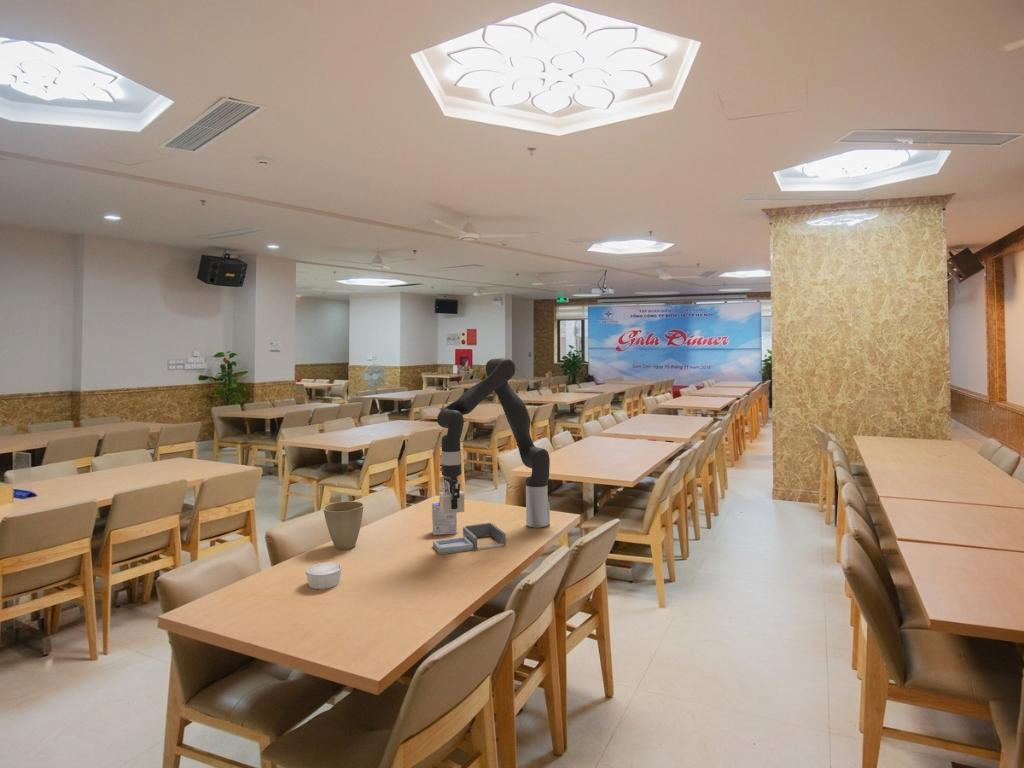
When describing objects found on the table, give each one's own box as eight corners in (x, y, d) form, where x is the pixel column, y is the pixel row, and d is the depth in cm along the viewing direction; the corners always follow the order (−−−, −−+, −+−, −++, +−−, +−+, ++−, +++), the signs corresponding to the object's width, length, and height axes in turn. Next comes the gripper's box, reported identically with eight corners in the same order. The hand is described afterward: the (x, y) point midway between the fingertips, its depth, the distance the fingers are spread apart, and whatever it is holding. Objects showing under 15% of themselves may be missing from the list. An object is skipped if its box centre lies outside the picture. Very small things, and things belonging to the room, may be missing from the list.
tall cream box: (460, 508, 226) (460, 490, 226) (464, 511, 221) (464, 493, 221) (440, 510, 223) (439, 492, 223) (443, 514, 218) (443, 495, 218)
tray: (465, 541, 230) (465, 536, 230) (473, 549, 221) (473, 544, 221) (433, 546, 225) (432, 540, 225) (439, 554, 216) (439, 548, 216)
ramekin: (338, 590, 185) (337, 573, 185) (302, 592, 185) (301, 575, 184) (345, 576, 197) (345, 561, 196) (311, 578, 196) (310, 562, 196)
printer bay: (492, 534, 239) (492, 522, 239) (506, 545, 225) (506, 532, 225) (463, 538, 235) (462, 526, 234) (475, 550, 220) (474, 537, 220)
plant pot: (340, 539, 236) (339, 499, 235) (372, 542, 231) (371, 502, 230) (316, 551, 222) (314, 509, 221) (349, 555, 217) (348, 512, 216)
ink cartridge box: (456, 530, 246) (455, 495, 245) (457, 534, 240) (456, 499, 240) (432, 531, 245) (431, 497, 244) (432, 535, 239) (431, 500, 238)
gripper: (466, 465, 216) (467, 510, 217) (455, 458, 229) (456, 501, 230) (446, 466, 213) (447, 513, 214) (436, 460, 227) (437, 503, 228)
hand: (452, 506), depth 222 cm, fingers closed on tall cream box, 5 cm apart
